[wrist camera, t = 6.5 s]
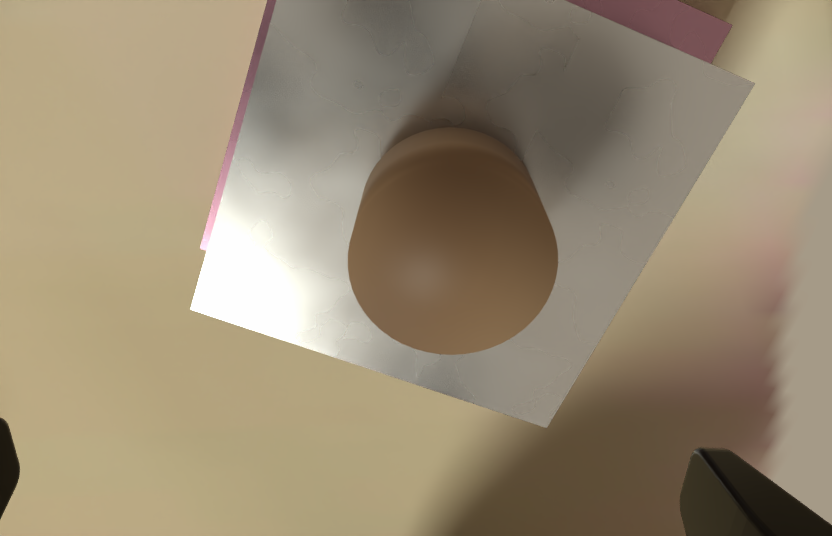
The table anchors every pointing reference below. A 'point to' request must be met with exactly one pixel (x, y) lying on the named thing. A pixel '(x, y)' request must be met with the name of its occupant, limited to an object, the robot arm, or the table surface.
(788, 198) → the table surface
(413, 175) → the plunger
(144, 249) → the table surface
